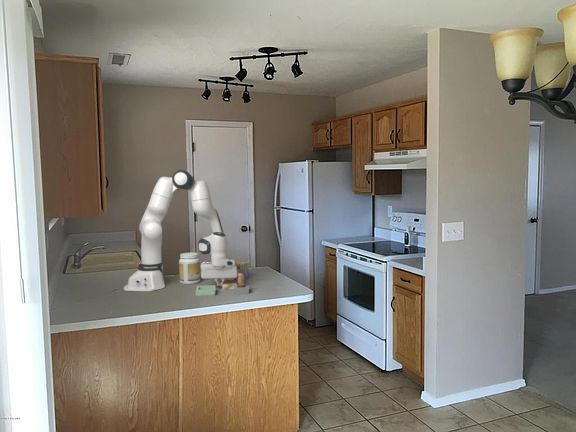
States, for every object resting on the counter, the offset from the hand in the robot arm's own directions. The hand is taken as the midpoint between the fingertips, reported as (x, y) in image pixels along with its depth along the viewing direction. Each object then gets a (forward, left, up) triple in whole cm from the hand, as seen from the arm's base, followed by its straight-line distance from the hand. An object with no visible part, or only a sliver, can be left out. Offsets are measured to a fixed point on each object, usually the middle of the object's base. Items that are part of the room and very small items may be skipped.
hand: (219, 285), depth 273 cm
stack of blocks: (+6, +23, -2) cm, 24 cm away
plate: (+6, 0, -2) cm, 6 cm away
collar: (+12, -8, -2) cm, 15 cm away
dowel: (+12, -8, -2) cm, 15 cm away
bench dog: (+11, 0, -2) cm, 11 cm away
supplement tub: (-18, +18, -2) cm, 26 cm away
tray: (-7, -9, -2) cm, 12 cm away
